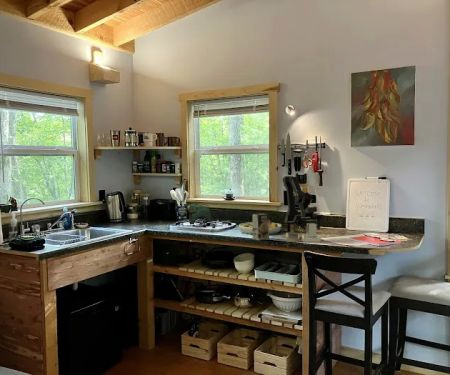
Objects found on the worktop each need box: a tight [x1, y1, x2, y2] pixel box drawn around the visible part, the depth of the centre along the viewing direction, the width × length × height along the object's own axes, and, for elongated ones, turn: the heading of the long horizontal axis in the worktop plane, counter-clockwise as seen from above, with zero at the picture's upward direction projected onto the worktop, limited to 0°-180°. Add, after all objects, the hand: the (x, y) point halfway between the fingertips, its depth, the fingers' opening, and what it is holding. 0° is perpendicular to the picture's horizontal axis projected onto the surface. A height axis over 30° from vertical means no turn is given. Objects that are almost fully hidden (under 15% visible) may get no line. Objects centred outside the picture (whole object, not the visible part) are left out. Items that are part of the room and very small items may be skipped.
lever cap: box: [305, 222, 317, 238], centre depth 261 cm, size 4×5×10 cm
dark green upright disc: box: [187, 199, 213, 224], centre depth 327 cm, size 20×6×20 cm, turn 119°
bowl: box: [238, 219, 282, 235], centre depth 296 cm, size 30×30×8 cm
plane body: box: [285, 225, 301, 243], centre depth 266 cm, size 19×8×8 cm, turn 173°
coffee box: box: [252, 212, 270, 241], centre depth 267 cm, size 9×6×16 cm
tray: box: [301, 234, 322, 243], centre depth 261 cm, size 11×11×2 cm
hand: (312, 229), depth 260 cm, fingers open, 9 cm apart
